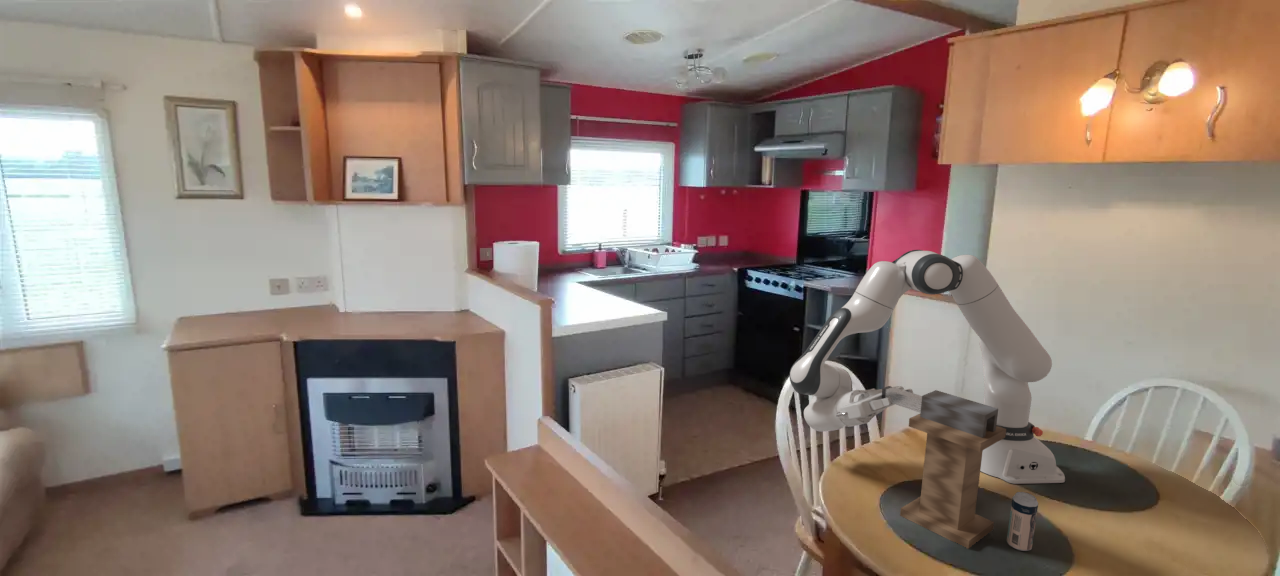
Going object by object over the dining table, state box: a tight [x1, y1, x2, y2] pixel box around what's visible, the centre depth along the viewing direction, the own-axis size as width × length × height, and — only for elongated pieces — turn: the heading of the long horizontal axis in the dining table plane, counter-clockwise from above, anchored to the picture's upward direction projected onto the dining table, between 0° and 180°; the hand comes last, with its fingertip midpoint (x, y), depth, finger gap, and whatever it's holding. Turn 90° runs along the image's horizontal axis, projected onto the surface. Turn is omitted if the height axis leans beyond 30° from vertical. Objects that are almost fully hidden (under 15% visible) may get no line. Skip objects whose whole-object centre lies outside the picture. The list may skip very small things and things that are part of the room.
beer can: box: [1006, 491, 1039, 552], centre depth 132 cm, size 5×5×12 cm
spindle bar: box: [881, 385, 923, 414], centre depth 142 cm, size 22×3×3 cm, turn 36°
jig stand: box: [899, 389, 1006, 550], centre depth 139 cm, size 16×12×30 cm
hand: (901, 396), depth 147 cm, fingers open, 8 cm apart
